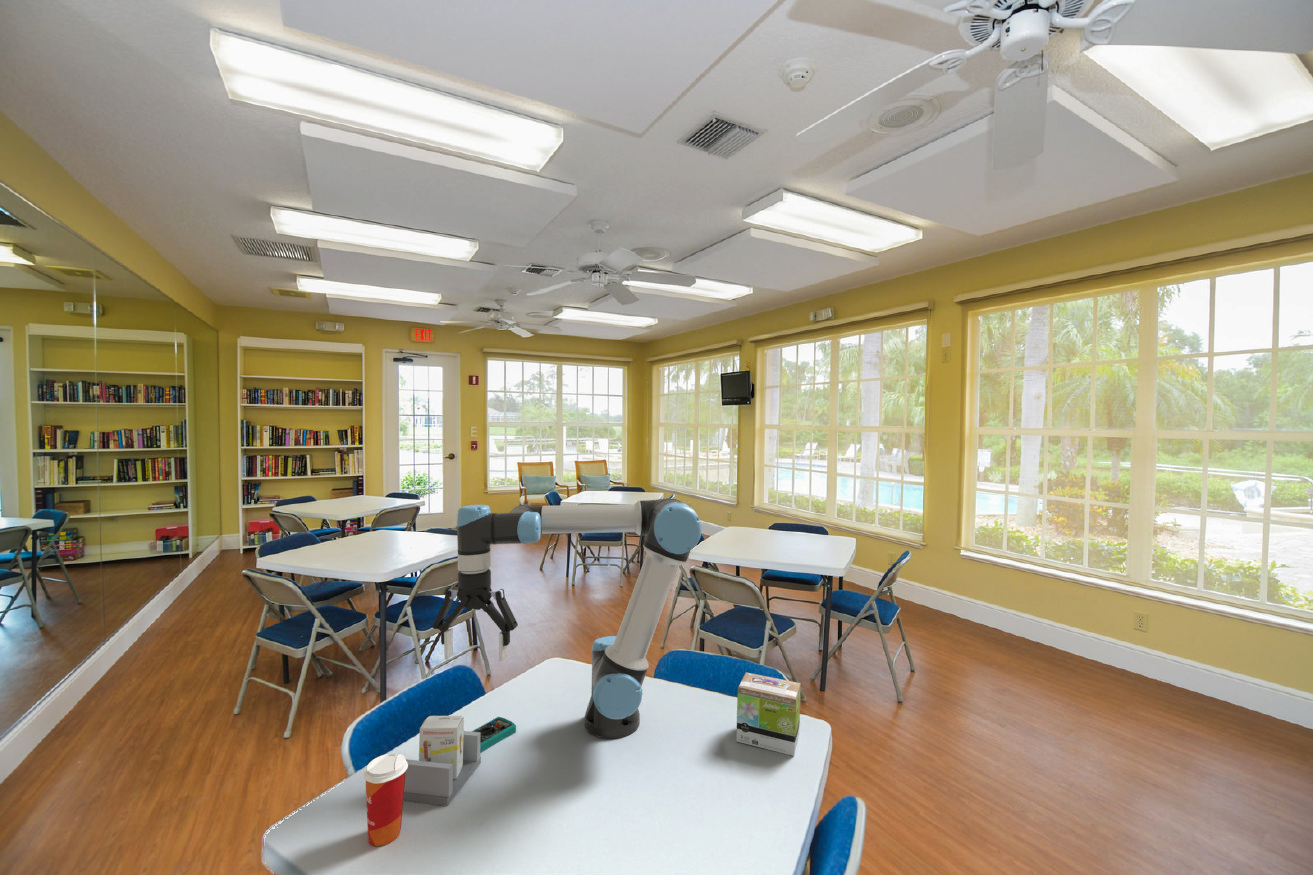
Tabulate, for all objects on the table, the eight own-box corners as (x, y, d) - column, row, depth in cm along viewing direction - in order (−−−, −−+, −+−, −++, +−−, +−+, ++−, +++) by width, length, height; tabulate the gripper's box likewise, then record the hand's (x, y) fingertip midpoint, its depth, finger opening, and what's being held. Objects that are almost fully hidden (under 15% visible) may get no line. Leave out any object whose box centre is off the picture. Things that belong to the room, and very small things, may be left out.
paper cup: (373, 822, 105) (374, 752, 105) (412, 820, 106) (414, 751, 106) (353, 852, 97) (355, 777, 97) (396, 850, 98) (398, 775, 98)
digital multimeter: (518, 733, 139) (518, 721, 139) (471, 761, 126) (471, 748, 126) (499, 724, 143) (499, 713, 143) (452, 750, 130) (452, 739, 130)
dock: (480, 762, 125) (481, 731, 125) (447, 806, 110) (448, 770, 110) (434, 757, 127) (434, 726, 127) (394, 799, 112) (395, 764, 112)
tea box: (735, 743, 135) (736, 686, 135) (744, 724, 144) (744, 670, 144) (795, 758, 129) (796, 697, 129) (800, 737, 138) (801, 681, 139)
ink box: (417, 781, 116) (418, 727, 116) (425, 767, 120) (426, 715, 121) (456, 780, 116) (457, 726, 116) (463, 766, 121) (464, 715, 121)
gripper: (529, 566, 128) (531, 653, 128) (433, 565, 131) (434, 650, 131) (518, 574, 121) (520, 666, 121) (416, 573, 123) (418, 663, 123)
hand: (475, 658), depth 126 cm, fingers open, 13 cm apart
